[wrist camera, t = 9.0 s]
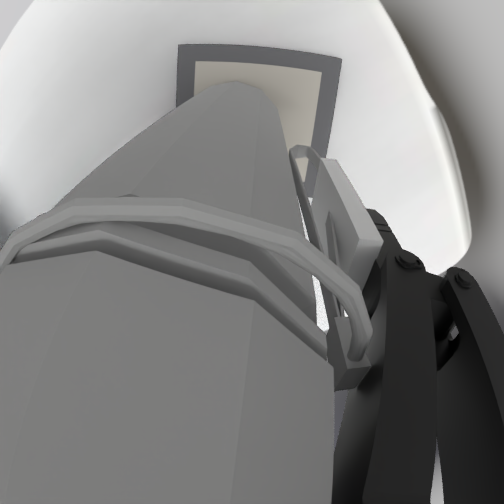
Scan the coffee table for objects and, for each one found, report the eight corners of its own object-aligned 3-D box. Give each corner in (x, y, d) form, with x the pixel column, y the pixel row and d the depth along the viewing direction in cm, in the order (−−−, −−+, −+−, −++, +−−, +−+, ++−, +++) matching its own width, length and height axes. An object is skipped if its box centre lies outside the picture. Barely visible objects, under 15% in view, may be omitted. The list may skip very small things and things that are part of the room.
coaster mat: (178, 183, 28) (176, 186, 27) (180, 44, 20) (178, 44, 19) (316, 195, 28) (317, 198, 28) (340, 58, 20) (342, 58, 20)
